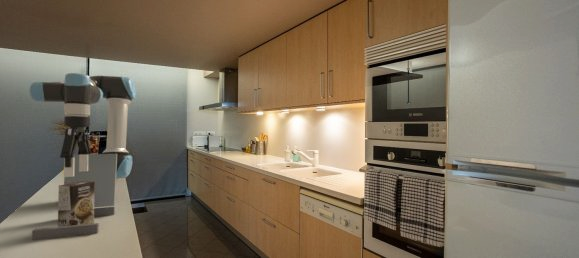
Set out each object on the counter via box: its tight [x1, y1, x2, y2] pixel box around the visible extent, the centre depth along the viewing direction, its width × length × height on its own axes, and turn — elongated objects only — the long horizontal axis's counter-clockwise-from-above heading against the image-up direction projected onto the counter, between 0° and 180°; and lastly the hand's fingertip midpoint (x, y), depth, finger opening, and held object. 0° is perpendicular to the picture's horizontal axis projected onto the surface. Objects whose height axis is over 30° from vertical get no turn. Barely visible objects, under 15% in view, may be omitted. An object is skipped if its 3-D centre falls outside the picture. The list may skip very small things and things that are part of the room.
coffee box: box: [57, 181, 95, 227], centre depth 101 cm, size 9×6×16 cm
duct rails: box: [31, 206, 116, 241], centre depth 103 cm, size 23×18×3 cm
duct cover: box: [63, 153, 117, 208], centre depth 115 cm, size 22×18×1 cm
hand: (76, 173), depth 101 cm, fingers open, 13 cm apart
